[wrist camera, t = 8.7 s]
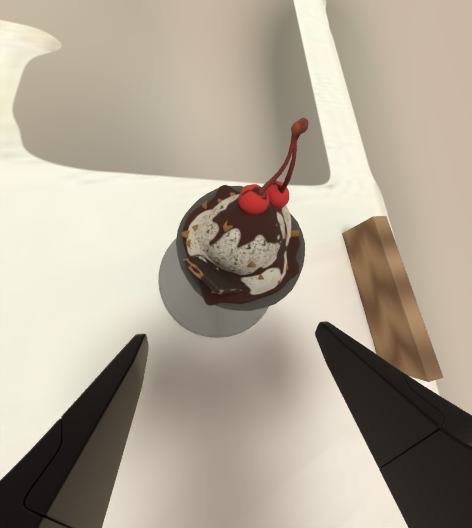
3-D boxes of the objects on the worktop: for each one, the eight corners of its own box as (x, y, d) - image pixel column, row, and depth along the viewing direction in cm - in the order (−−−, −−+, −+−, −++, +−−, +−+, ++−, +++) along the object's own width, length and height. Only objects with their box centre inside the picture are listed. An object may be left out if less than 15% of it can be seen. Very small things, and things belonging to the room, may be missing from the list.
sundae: (244, 242, 20) (345, 76, 6) (261, 301, 19) (441, 271, 5) (184, 253, 19) (126, 67, 5) (197, 318, 17) (176, 352, 3)
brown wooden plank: (393, 364, 23) (443, 377, 18) (380, 367, 23) (428, 381, 18) (353, 232, 27) (386, 216, 23) (342, 233, 27) (373, 216, 22)
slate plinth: (273, 324, 22) (284, 326, 19) (166, 342, 19) (161, 347, 16) (257, 231, 24) (265, 220, 22) (162, 236, 22) (156, 224, 19)
